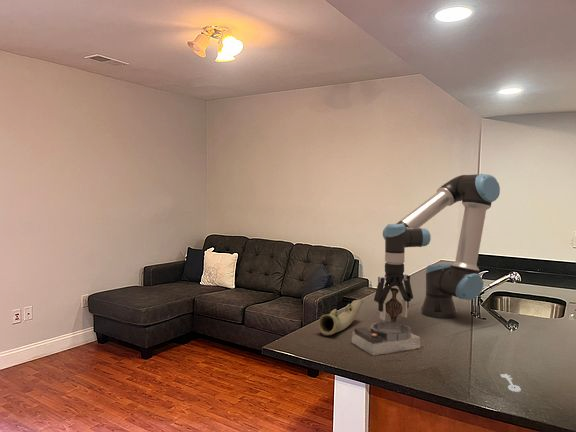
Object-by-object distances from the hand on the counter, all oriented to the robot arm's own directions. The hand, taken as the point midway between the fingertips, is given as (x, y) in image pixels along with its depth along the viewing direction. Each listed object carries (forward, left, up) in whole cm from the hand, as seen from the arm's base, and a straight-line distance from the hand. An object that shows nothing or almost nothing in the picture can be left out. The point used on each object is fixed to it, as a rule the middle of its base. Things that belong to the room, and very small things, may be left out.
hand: (393, 317), depth 177 cm
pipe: (+17, -12, -6) cm, 22 cm away
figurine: (0, 0, -6) cm, 6 cm away
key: (-5, +52, -6) cm, 53 cm away
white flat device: (+12, +12, -6) cm, 18 cm away
